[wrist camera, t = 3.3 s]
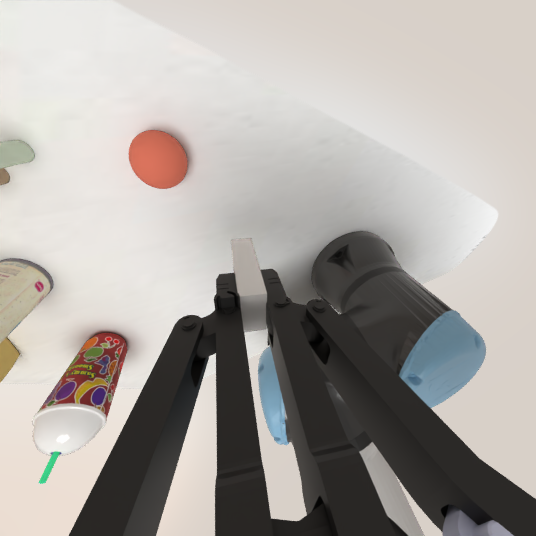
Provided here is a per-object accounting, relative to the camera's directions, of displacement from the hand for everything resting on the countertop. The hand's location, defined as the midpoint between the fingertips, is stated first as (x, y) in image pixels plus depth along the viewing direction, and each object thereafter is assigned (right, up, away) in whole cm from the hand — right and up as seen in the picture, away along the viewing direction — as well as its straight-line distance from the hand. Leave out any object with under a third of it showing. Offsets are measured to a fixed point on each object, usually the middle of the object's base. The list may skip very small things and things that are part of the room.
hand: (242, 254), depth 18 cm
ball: (-10, +11, +8) cm, 17 cm away
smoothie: (-28, -15, +25) cm, 40 cm away
